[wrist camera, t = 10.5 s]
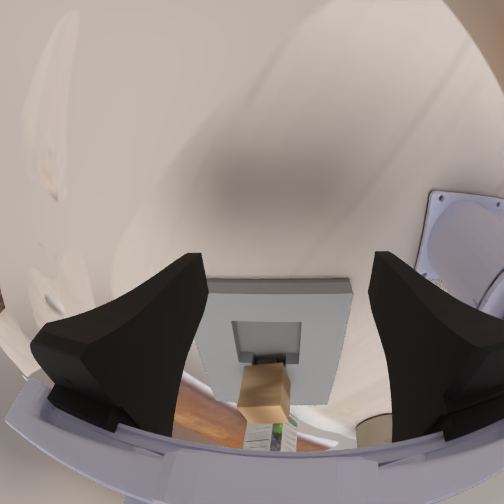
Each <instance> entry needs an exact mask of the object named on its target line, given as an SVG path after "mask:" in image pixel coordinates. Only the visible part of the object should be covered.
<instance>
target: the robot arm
mask: <svg viewBox="0 0 504 504" xmlns="http://www.w3.org/2000/svg"><path fill="white" fill-rule="evenodd" d="M441 195H442V198H441V199H440V200H439V197H440V196H441ZM497 202H498V204H497ZM424 273H425V274H424ZM423 274H424V275H423ZM430 279H441V281H442V282H443V284H444V285H445V287H446V288H447V290H448V292H449V293H450V294H448V293H446V292H445V291H443V290H442V289H440V288H439V287H437V286H436V285H435V284H433V283H432V282H430V281H429V280H430ZM208 294H209V290H208V285H207V280H206V275H205V270H204V265H203V260H202V255H201V253H187V254H185V255H183V256H182V257H180V258H179V259H177V260H176V261H174V262H173V263H171V264H170V265H169V266H167V267H166V268H164V269H163V270H162V271H160V272H159V273H157V274H156V275H155V276H153V277H152V278H150V279H149V280H147V281H145V282H144V283H142V284H141V285H139V286H138V287H136V288H135V289H133V290H131V291H130V292H128V293H126V294H124V295H122V296H121V297H119V298H117V299H115V300H113V301H111V302H108V303H106V304H104V305H102V306H99V307H97V308H95V309H92V310H90V311H87V312H84V313H82V314H79V315H76V316H72V317H69V318H65V319H61V320H57V321H53V322H49V323H46V324H45V325H44V326H43V327H42V329H41V330H40V331H39V332H38V334H37V335H36V336H35V338H34V339H33V340H32V342H31V344H30V348H31V352H32V354H33V356H34V358H35V360H36V361H37V362H38V364H39V365H40V366H41V368H42V369H43V370H44V371H45V372H46V374H47V375H48V376H49V377H50V379H51V380H52V381H53V382H54V383H55V385H54V387H53V389H51V388H49V387H48V386H47V385H45V384H44V383H42V382H40V381H38V380H36V379H34V378H32V377H29V379H28V381H27V382H26V384H25V385H24V387H23V389H22V390H21V392H20V393H19V395H18V397H17V399H16V400H15V402H14V404H13V405H12V407H11V409H10V410H9V412H8V414H7V416H6V418H5V422H6V423H7V424H8V425H10V426H11V427H12V428H13V429H14V430H16V431H17V432H18V433H19V434H20V435H22V436H23V437H24V438H26V439H27V440H28V441H30V442H31V443H32V444H34V445H35V446H36V447H38V448H39V449H40V450H42V451H43V452H45V453H46V454H48V455H50V456H51V457H53V458H54V459H56V460H57V461H59V462H60V463H62V464H64V465H65V466H67V467H69V468H71V469H72V470H74V471H76V472H78V473H80V474H81V475H83V476H85V477H87V478H88V479H90V480H92V481H94V482H96V483H98V484H100V485H103V486H105V487H107V488H109V489H111V490H114V491H116V492H118V493H120V494H123V495H125V496H126V498H125V501H124V504H434V503H437V502H440V501H442V500H445V499H447V498H450V497H452V496H455V495H457V494H459V493H461V492H464V491H466V490H468V489H470V488H472V487H474V486H476V485H478V484H480V483H482V482H484V481H486V480H488V479H490V478H491V477H493V476H495V475H497V474H498V473H500V472H502V471H504V199H502V198H495V197H488V196H481V195H473V194H464V193H455V192H445V191H432V192H431V194H430V196H429V203H428V209H427V216H426V221H425V227H424V232H423V237H422V242H421V246H420V251H419V255H418V259H417V263H416V267H415V270H414V269H413V268H411V267H410V266H409V265H408V264H406V263H405V262H404V261H402V260H401V259H400V258H398V257H397V256H395V255H394V254H392V253H391V252H389V251H375V256H374V262H373V268H372V274H371V279H370V284H369V289H368V294H369V300H370V305H371V310H372V314H373V317H374V320H375V323H376V326H377V329H378V333H379V336H380V339H381V342H382V346H383V349H384V352H385V356H386V361H387V366H388V373H389V380H390V390H391V401H392V443H389V444H384V445H377V446H371V447H363V448H355V449H345V450H335V451H334V450H332V451H312V452H280V451H259V450H246V449H236V448H227V447H220V446H213V445H206V444H200V443H195V442H189V441H184V440H180V439H175V438H172V429H173V421H174V414H175V408H176V402H177V396H178V391H179V387H180V382H181V377H182V373H183V369H184V365H185V361H186V358H187V355H188V352H189V350H190V347H191V344H192V342H193V339H194V337H195V334H196V332H197V329H198V327H199V324H200V322H201V319H202V317H203V314H204V311H205V307H206V303H207V299H208Z"/></svg>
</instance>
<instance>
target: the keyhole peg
mask: <svg viewBox="0 0 504 504" xmlns="http://www.w3.org/2000/svg"><path fill="white" fill-rule="evenodd" d="M290 389H291V382H290V380H289V377H288V374H287V372H286V369H285V366H284V364H283V362H282V363H279V361H278V358H277V357H275V358H265V359H257V363H256V365H250V366H244V372H243V377H242V383H241V388H240V394H239V399H238V405H237V408H238V409H239V410H240V412H241V413H242V414H243V416H244V417H245V418H246V420H247V421H248V422H249V423H250V424H273V423H289V410H290Z"/></svg>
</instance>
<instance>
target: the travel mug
mask: <svg viewBox="0 0 504 504" xmlns="http://www.w3.org/2000/svg"><path fill="white" fill-rule="evenodd" d="M356 435H357V447H358V448H363V447H371V446H377V445H384V444H389V443H392V415H390V414H388V415H381V416H377V417H373V418H371V419H368V420H366V421H364V422H363V423H361V424H360V425H359V426H358V427H357V428H356Z"/></svg>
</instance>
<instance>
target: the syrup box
mask: <svg viewBox="0 0 504 504" xmlns="http://www.w3.org/2000/svg"><path fill="white" fill-rule="evenodd" d="M297 424H298V420H297V419H296V418H294V417H293V416H291V415H290V414H289V423H273V424H250V423H249V422H248V421H247V427H246V433H245V438H244V444H243V449H246V450H259V451H280V452H296V443H297Z"/></svg>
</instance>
